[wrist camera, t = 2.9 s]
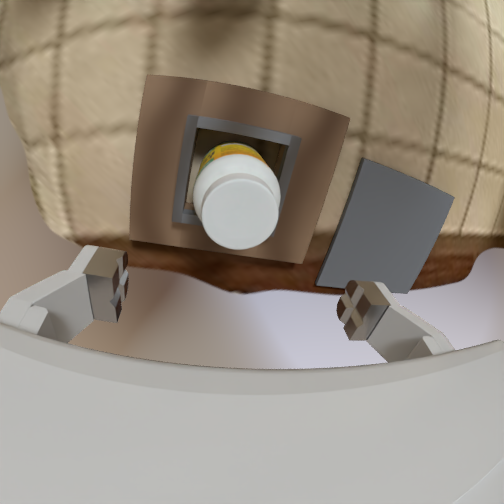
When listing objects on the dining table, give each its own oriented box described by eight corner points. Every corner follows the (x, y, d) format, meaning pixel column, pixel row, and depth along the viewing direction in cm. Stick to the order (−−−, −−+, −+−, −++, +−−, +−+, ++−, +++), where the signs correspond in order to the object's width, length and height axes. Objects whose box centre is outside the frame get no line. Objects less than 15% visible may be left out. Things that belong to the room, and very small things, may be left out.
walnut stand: (342, 116, 20) (355, 119, 18) (298, 255, 27) (304, 269, 25) (151, 76, 17) (143, 73, 15) (133, 231, 24) (126, 245, 22)
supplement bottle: (255, 206, 24) (275, 268, 16) (194, 195, 23) (181, 254, 15) (271, 147, 21) (304, 179, 13) (206, 133, 20) (196, 156, 12)
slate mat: (451, 195, 25) (454, 197, 25) (405, 291, 32) (407, 293, 32) (362, 157, 22) (364, 158, 22) (315, 282, 29) (316, 285, 29)
